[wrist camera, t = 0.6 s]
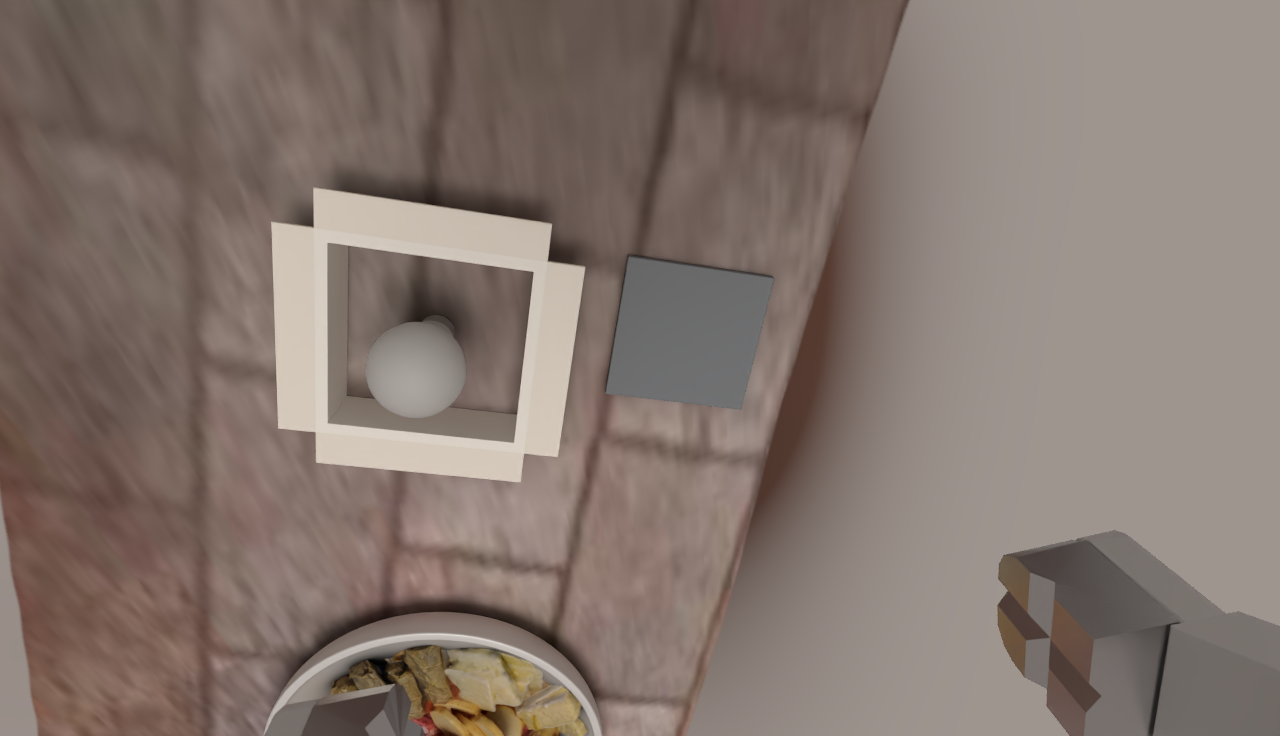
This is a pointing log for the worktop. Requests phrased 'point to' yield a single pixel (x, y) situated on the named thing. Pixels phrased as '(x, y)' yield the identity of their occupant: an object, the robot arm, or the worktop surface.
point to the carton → (319, 334)
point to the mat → (686, 332)
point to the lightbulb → (417, 368)
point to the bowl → (455, 676)
